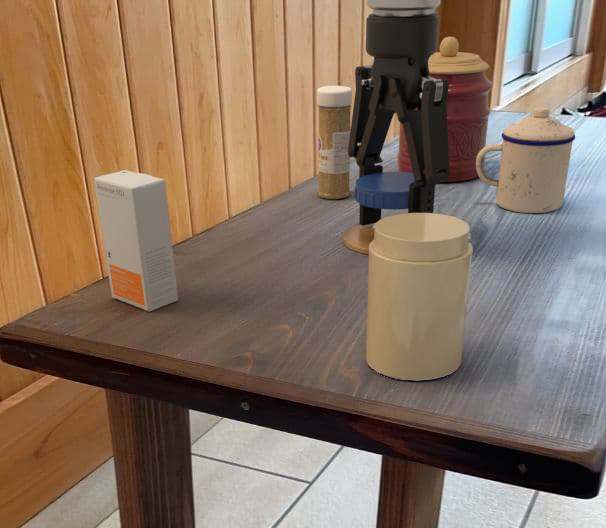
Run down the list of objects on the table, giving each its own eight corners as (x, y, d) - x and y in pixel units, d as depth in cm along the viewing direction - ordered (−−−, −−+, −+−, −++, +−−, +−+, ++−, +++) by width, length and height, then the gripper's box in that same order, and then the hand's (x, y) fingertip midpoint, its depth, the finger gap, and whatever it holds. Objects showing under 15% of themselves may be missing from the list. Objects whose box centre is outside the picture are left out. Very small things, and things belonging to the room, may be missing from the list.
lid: (340, 196, 100) (340, 179, 99) (402, 184, 104) (402, 167, 103) (385, 214, 94) (385, 196, 93) (449, 200, 98) (450, 183, 97)
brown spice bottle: (312, 194, 119) (311, 86, 111) (341, 189, 121) (341, 83, 113) (327, 202, 116) (326, 91, 108) (356, 197, 117) (358, 88, 109)
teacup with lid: (561, 196, 116) (576, 101, 109) (567, 215, 109) (583, 115, 102) (472, 194, 118) (481, 100, 111) (471, 213, 110) (481, 114, 104)
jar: (465, 345, 78) (478, 213, 71) (456, 385, 71) (470, 245, 64) (374, 337, 79) (378, 208, 72) (357, 376, 73) (360, 239, 66)
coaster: (448, 228, 106) (448, 223, 105) (437, 259, 96) (437, 254, 96) (353, 223, 108) (353, 218, 108) (333, 253, 99) (333, 248, 98)
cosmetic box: (110, 299, 88) (91, 177, 81) (142, 287, 91) (126, 168, 84) (148, 313, 85) (131, 187, 78) (180, 301, 87) (167, 178, 80)
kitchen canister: (477, 161, 132) (490, 30, 122) (490, 183, 122) (505, 41, 111) (393, 163, 133) (399, 32, 122) (399, 184, 122) (406, 43, 112)
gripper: (316, 6, 94) (318, 216, 107) (440, 22, 79) (424, 264, 93) (372, 2, 97) (367, 206, 111) (501, 16, 82) (477, 251, 96)
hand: (393, 232), depth 102 cm, fingers closed on lid, 9 cm apart
